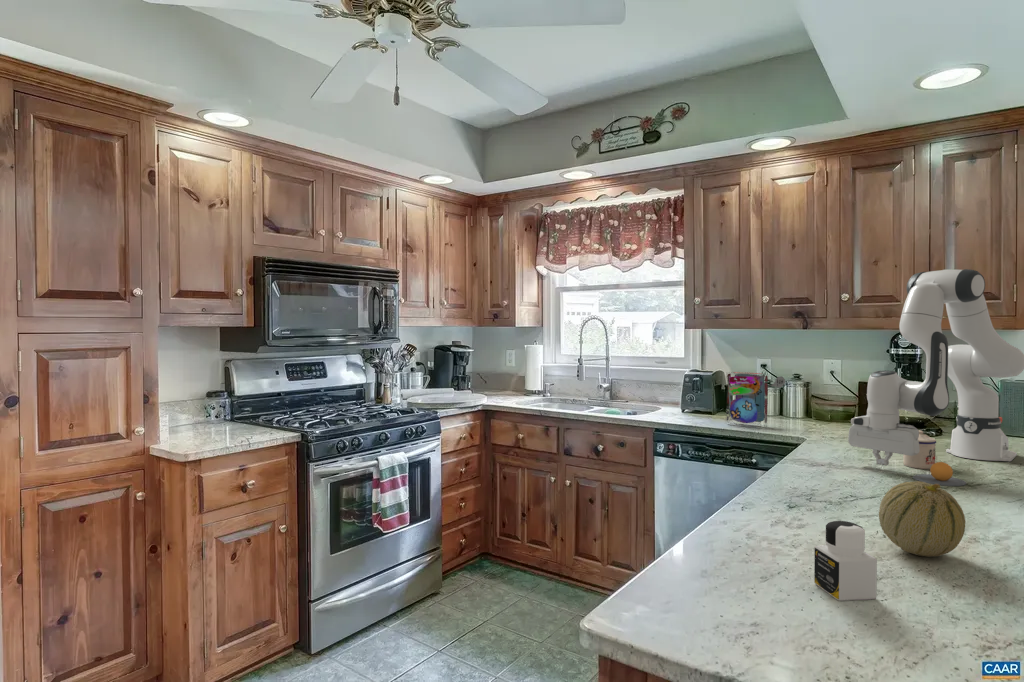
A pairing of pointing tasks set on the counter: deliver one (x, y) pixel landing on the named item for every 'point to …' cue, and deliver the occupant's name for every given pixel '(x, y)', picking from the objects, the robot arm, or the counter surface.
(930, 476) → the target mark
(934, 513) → the cantaloupe
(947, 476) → the ball
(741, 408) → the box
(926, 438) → the teacup with lid
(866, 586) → the medicine bottle
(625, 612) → the counter surface
